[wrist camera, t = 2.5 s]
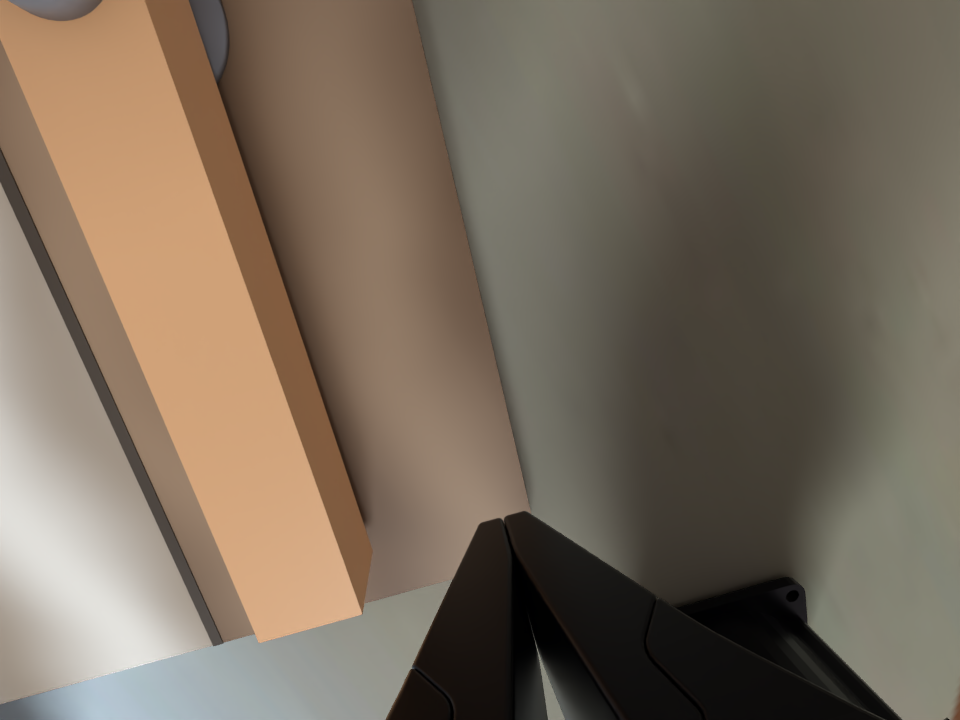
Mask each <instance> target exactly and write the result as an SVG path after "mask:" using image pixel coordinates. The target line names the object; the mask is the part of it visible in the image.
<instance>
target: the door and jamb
mask: <svg viewBox="0 0 960 720" xmlns="http://www.w3.org/2000/svg"><path fill="white" fill-rule="evenodd" d="M189 3H190V6H191V9H192V12H193V15H194V18H195V21H196V24H197V27H198V30H199V33H200V36H201V39H202V42H203V45H204V48H205V51H206V54H207V57H208V60H209V63H210V66H211V69H212V72H213V75H214V78H215V81H216V84H217V87H218V90H219V93H220V96H221V99H222V102H223V105H224V108H225V111H226V114H227V117H228V120H229V123H230V126H231V129H232V132H233V135H234V138H235V141H236V143H237V146H238V149H239V152H240V155H241V158H242V161H243V164H244V167H245V170H246V173H247V176H248V179H249V182H250V185H251V188H252V191H253V194H254V197H255V200H256V203H257V206H258V209H259V212H260V215H261V218H262V221H263V224H264V227H265V230H266V233H267V236H268V239H269V242H270V245H271V248H272V251H273V254H274V257H275V260H276V263H277V266H278V269H279V272H280V275H281V278H282V281H283V284H284V287H285V290H286V293H287V296H288V299H289V302H290V305H291V308H292V311H293V314H294V317H295V320H296V323H297V326H298V329H299V332H300V335H301V338H302V341H303V344H304V347H305V350H306V353H307V356H308V359H309V362H310V365H311V368H312V371H313V374H314V377H315V380H316V383H317V386H318V389H319V392H320V395H321V397H322V400H323V403H324V406H325V409H326V412H327V415H328V418H329V421H330V424H331V427H332V430H333V433H334V436H335V439H336V442H337V445H338V448H339V451H340V454H341V457H342V460H343V463H344V466H345V469H346V472H347V475H348V478H349V481H350V484H351V487H352V490H353V493H354V496H355V499H356V502H357V505H358V508H359V511H360V514H361V517H362V520H363V523H364V526H365V529H366V532H367V535H368V538H369V541H370V544H371V547H372V550H373V553H372V559H371V565H370V571H369V577H368V583H367V589H366V596H365V602H364V603H368V602H371V601H375V600H379V599H382V598H386V597H389V596H393V595H397V594H400V593H404V592H408V591H411V590H415V589H418V588H422V587H426V586H429V585H433V584H436V583H440V582H444V581H447V580H451V579H453V578H454V576H455V574H456V572H457V570H458V567H459V565H460V563H461V561H462V559H463V557H464V555H465V553H466V550H467V548H468V546H469V544H470V542H471V540H472V538H473V536H474V533H475V531H476V529H477V527H478V525H479V524H480V523H481V522H485V521H488V520H492V519H496V518H501V519H502V520H503V521H504V517H505V516H507V515H510V514H514V513H518V512H521V511H527V512H529V513H530V514H531V510H530V506H529V502H528V497H527V493H526V489H525V485H524V480H523V476H522V472H521V467H520V463H519V459H518V454H517V450H516V446H515V442H514V437H513V433H512V429H511V424H510V420H509V416H508V411H507V407H506V403H505V398H504V394H503V390H502V386H501V381H500V377H499V373H498V368H497V364H496V360H495V355H494V351H493V347H492V343H491V338H490V334H489V330H488V325H487V321H486V317H485V312H484V308H483V304H482V300H481V295H480V291H479V287H478V282H477V278H476V274H475V269H474V265H473V261H472V257H471V252H470V248H469V244H468V239H467V235H466V231H465V226H464V222H463V218H462V214H461V209H460V205H459V201H458V196H457V192H456V188H455V183H454V179H453V175H452V170H451V166H450V162H449V158H448V153H447V149H446V145H445V140H444V136H443V132H442V127H441V123H440V119H439V115H438V110H437V106H436V102H435V97H434V93H433V89H432V84H431V80H430V76H429V72H428V67H427V63H426V59H425V54H424V50H423V46H422V41H421V37H420V33H419V29H418V24H417V20H416V16H415V11H414V7H413V3H412V0H189ZM504 525H505V524H504ZM252 634H255V633H254V630H253V628H252V626H251V623H250V621H249V619H248V616H247V614H246V612H245V609H244V607H243V605H242V602H241V600H240V598H239V595H238V593H237V591H236V588H235V586H234V584H233V581H232V579H231V577H230V574H229V572H228V570H227V567H226V565H225V563H224V560H223V558H222V556H221V553H220V551H219V549H218V546H217V544H216V542H215V539H214V537H213V535H212V532H211V530H210V528H209V525H208V523H207V521H206V518H205V516H204V514H203V511H202V509H201V507H200V504H199V502H198V500H197V497H196V495H195V493H194V490H193V488H192V486H191V483H190V481H189V479H188V476H187V474H186V472H185V469H184V467H183V465H182V462H181V460H180V458H179V455H178V453H177V451H176V448H175V446H174V444H173V441H172V439H171V437H170V434H169V432H168V430H167V427H166V425H165V423H164V420H163V418H162V416H161V413H160V411H159V409H158V406H157V404H156V402H155V399H154V397H153V395H152V392H151V390H150V388H149V385H148V383H147V381H146V378H145V376H144V374H143V371H142V369H141V367H140V364H139V362H138V360H137V357H136V355H135V353H134V350H133V348H132V346H131V343H130V341H129V338H128V336H127V334H126V331H125V329H124V327H123V324H122V322H121V320H120V317H119V315H118V313H117V310H116V308H115V306H114V303H113V301H112V299H111V296H110V294H109V292H108V289H107V287H106V285H105V282H104V280H103V278H102V275H101V273H100V271H99V268H98V266H97V264H96V261H95V259H94V257H93V254H92V252H91V250H90V247H89V245H88V243H87V240H86V238H85V236H84V233H83V231H82V229H81V226H80V224H79V222H78V219H77V217H76V215H75V212H74V210H73V208H72V205H71V203H70V201H69V198H68V196H67V194H66V191H65V189H64V187H63V184H62V182H61V180H60V177H59V175H58V173H57V170H56V168H55V166H54V163H53V161H52V159H51V156H50V154H49V152H48V149H47V147H46V145H45V142H44V140H43V138H42V135H41V133H40V131H39V128H38V126H37V124H36V121H35V119H34V117H33V114H32V112H31V110H30V107H29V105H28V103H27V100H26V98H25V96H24V93H23V91H22V89H21V86H20V84H19V82H18V79H17V77H16V75H15V72H14V70H13V68H12V65H11V63H10V61H9V58H8V56H7V54H6V51H5V49H4V47H3V44H2V42H1V40H0V704H3V703H7V702H11V701H14V700H18V699H21V698H25V697H29V696H32V695H36V694H40V693H43V692H47V691H50V690H54V689H58V688H61V687H65V686H68V685H72V684H76V683H79V682H83V681H86V680H90V679H94V678H97V677H101V676H104V675H108V674H112V673H115V672H119V671H123V670H126V669H130V668H133V667H137V666H141V665H144V664H148V663H151V662H155V661H159V660H162V659H166V658H169V657H173V656H177V655H180V654H184V653H187V652H191V651H195V650H198V649H202V648H205V647H209V646H216V645H220V644H223V643H224V642H227V641H231V640H234V639H238V638H242V637H245V636H249V635H252Z"/></svg>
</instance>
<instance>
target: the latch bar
mask: <svg viewBox="0 0 960 720" xmlns="http://www.w3.org/2000/svg"><path fill="white" fill-rule="evenodd" d="M0 40H1V42H2V44H3V47H4V49H5V51H6V54H7V56H8V58H9V61H10V63H11V65H12V68H13V70H14V72H15V75H16V77H17V79H18V82H19V84H20V86H21V89H22V91H23V93H24V96H25V98H26V100H27V103H28V105H29V107H30V110H31V112H32V114H33V117H34V119H35V121H36V124H37V126H38V128H39V131H40V133H41V135H42V138H43V140H44V142H45V145H46V147H47V149H48V152H49V154H50V156H51V159H52V161H53V163H54V166H55V168H56V170H57V173H58V175H59V177H60V180H61V182H62V184H63V187H64V189H65V191H66V194H67V196H68V198H69V201H70V203H71V205H72V208H73V210H74V212H75V215H76V217H77V219H78V222H79V224H80V226H81V229H82V231H83V233H84V236H85V238H86V240H87V243H88V245H89V247H90V250H91V252H92V254H93V257H94V259H95V261H96V264H97V266H98V268H99V271H100V273H101V275H102V278H103V280H104V282H105V285H106V287H107V289H108V292H109V294H110V296H111V299H112V301H113V303H114V306H115V308H116V310H117V313H118V315H119V317H120V320H121V322H122V324H123V327H124V329H125V331H126V334H127V336H128V338H129V341H130V343H131V346H132V348H133V350H134V353H135V355H136V357H137V360H138V362H139V364H140V367H141V369H142V371H143V374H144V376H145V378H146V381H147V383H148V385H149V388H150V390H151V392H152V395H153V397H154V399H155V402H156V404H157V406H158V409H159V411H160V413H161V416H162V418H163V420H164V423H165V425H166V427H167V430H168V432H169V434H170V437H171V439H172V441H173V444H174V446H175V448H176V451H177V453H178V455H179V458H180V460H181V462H182V465H183V467H184V469H185V472H186V474H187V476H188V479H189V481H190V483H191V486H192V488H193V490H194V493H195V495H196V497H197V500H198V502H199V504H200V507H201V509H202V511H203V514H204V516H205V518H206V521H207V523H208V525H209V528H210V530H211V532H212V535H213V537H214V539H215V542H216V544H217V546H218V549H219V551H220V553H221V556H222V558H223V560H224V563H225V565H226V567H227V570H228V572H229V574H230V577H231V579H232V581H233V584H234V586H235V588H236V591H237V593H238V595H239V598H240V600H241V602H242V605H243V607H244V609H245V612H246V614H247V616H248V619H249V621H250V623H251V626H252V628H253V630H254V633H255V635H256V637H257V640H258V642H259V643H261V642H265V641H268V640H272V639H276V638H279V637H283V636H286V635H290V634H294V633H297V632H301V631H304V630H308V629H312V628H315V627H319V626H322V625H326V624H330V623H333V622H337V621H340V620H344V619H348V618H351V617H355V616H358V615H362V614H363V608H364V602H365V596H366V589H367V583H368V577H369V571H370V565H371V559H372V553H373V550H372V547H371V544H370V541H369V538H368V535H367V532H366V529H365V526H364V523H363V520H362V517H361V514H360V511H359V508H358V505H357V502H356V499H355V496H354V493H353V490H352V487H351V484H350V481H349V478H348V475H347V472H346V469H345V466H344V463H343V460H342V457H341V454H340V451H339V448H338V445H337V442H336V439H335V436H334V433H333V430H332V427H331V424H330V421H329V418H328V415H327V412H326V409H325V406H324V403H323V400H322V397H321V395H320V392H319V389H318V386H317V383H316V380H315V377H314V374H313V371H312V368H311V365H310V362H309V359H308V356H307V353H306V350H305V347H304V344H303V341H302V338H301V335H300V332H299V329H298V326H297V323H296V320H295V317H294V314H293V311H292V308H291V305H290V302H289V299H288V296H287V293H286V290H285V287H284V284H283V281H282V278H281V275H280V272H279V269H278V266H277V263H276V260H275V257H274V254H273V251H272V248H271V245H270V242H269V239H268V236H267V233H266V230H265V227H264V224H263V221H262V218H261V215H260V212H259V209H258V206H257V203H256V200H255V197H254V194H253V191H252V188H251V185H250V182H249V179H248V176H247V173H246V170H245V167H244V164H243V161H242V158H241V155H240V152H239V149H238V146H237V143H236V141H235V138H234V135H233V132H232V129H231V126H230V123H229V120H228V117H227V114H226V111H225V108H224V105H223V102H222V99H221V96H220V93H219V90H218V87H217V84H216V81H215V78H214V75H213V72H212V69H211V66H210V63H209V60H208V57H207V54H206V51H205V48H204V45H203V42H202V39H201V36H200V33H199V30H198V27H197V24H196V21H195V18H194V15H193V12H192V9H191V6H190V3H189V0H0Z"/></svg>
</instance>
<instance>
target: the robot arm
mask: <svg viewBox="0 0 960 720" xmlns="http://www.w3.org/2000/svg"><path fill="white" fill-rule="evenodd" d="M504 524H505V525H504ZM788 592H789V593H788ZM530 623H531V624H530ZM533 634H534V635H533ZM534 638H535V639H534ZM535 641H536V644H535ZM536 645H537V648H538V651H539V654H540V657H541V660H542V663H543V665H544V668H545V670H546V673H547V675H548V678H549V680H550V683H551V685H552V688H553V690H554V693H555V695H556V698H557V700H558V703H559V705H560V708H561V710H562V712H563V715H564V717H565V720H902V719H901V718H900V717H899V716H898V715H897V714H896V713H895V712H894V711H893V710H892V709H891V708H890V707H889V706H888V705H887V704H886V703H885V702H884V701H883V700H882V699H881V698H880V697H879V696H878V695H877V694H876V693H875V692H874V691H873V690H872V689H871V688H870V687H869V686H868V685H867V684H866V683H865V682H864V681H863V680H862V679H861V678H860V677H859V676H858V675H857V674H856V673H855V672H854V671H853V670H852V669H851V668H850V667H849V666H848V665H847V664H846V663H845V662H844V661H843V660H842V659H841V658H840V657H839V656H838V655H837V654H836V653H835V652H834V651H833V650H832V649H831V648H830V647H829V646H828V645H827V644H826V643H825V642H824V641H823V640H822V639H821V638H820V637H819V636H818V635H817V634H816V633H815V632H814V631H813V630H812V629H811V628H810V627H809V626H808V624H807V611H806V597H805V590H804V588H803V587H802V586H801V585H800V584H799V583H798V582H796V581H795V580H794V579H793V578H790V577H785V578H781V579H777V580H774V581H770V582H767V583H763V584H760V585H756V586H753V587H749V588H746V589H742V590H739V591H735V592H732V593H728V594H725V595H721V596H718V597H715V598H711V599H708V600H704V601H701V602H697V603H694V604H690V605H687V606H683V607H680V608H675V607H673V606H672V605H670V604H669V603H667V602H666V601H664V600H662V599H661V598H657V596H656V595H654V594H653V593H651V592H650V591H648V590H647V589H645V588H644V587H642V586H641V585H639V584H638V583H636V582H634V581H633V580H631V579H630V578H628V577H627V576H625V575H624V574H622V573H621V572H619V571H618V570H616V569H615V568H613V567H611V566H610V565H608V564H607V563H605V562H604V561H602V560H601V559H599V558H598V557H596V556H595V555H593V554H592V553H590V552H588V551H587V550H585V549H584V548H582V547H581V546H579V545H578V544H576V543H575V542H573V541H572V540H570V539H568V538H567V537H565V536H564V535H562V534H561V533H559V532H558V531H556V530H555V529H553V528H552V527H550V526H549V525H547V524H545V523H544V522H542V521H541V520H539V519H538V518H536V517H535V516H533V515H532V514H530V513H529V512H527V511H521V512H518V513H514V514H510V515H507V516H505V517H504V521H503V520H502V519H501V518H496V519H492V520H488V521H485V522H481V523H480V524H479V525H478V527H477V529H476V531H475V533H474V536H473V538H472V540H471V542H470V544H469V546H468V548H467V550H466V553H465V555H464V557H463V559H462V561H461V563H460V565H459V567H458V570H457V572H456V574H455V576H454V578H453V580H452V582H451V584H450V587H449V589H448V591H447V593H446V595H445V597H444V599H443V601H442V604H441V606H440V608H439V610H438V612H437V614H436V616H435V618H434V620H433V623H432V625H431V627H430V629H429V631H428V633H427V635H426V637H425V640H424V642H423V644H422V646H421V648H420V650H419V652H418V654H417V657H416V659H415V661H414V663H413V665H412V669H411V670H410V671H409V673H408V675H407V677H406V679H405V682H404V684H403V686H402V688H401V690H400V692H399V694H398V696H397V698H396V700H395V702H394V704H393V706H392V708H391V710H390V712H389V714H388V716H387V718H386V720H548V717H547V710H546V703H545V696H544V689H543V682H542V675H541V669H540V663H539V657H538V652H537V648H536ZM944 720H949V719H948V718H945V719H944Z"/></svg>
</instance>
